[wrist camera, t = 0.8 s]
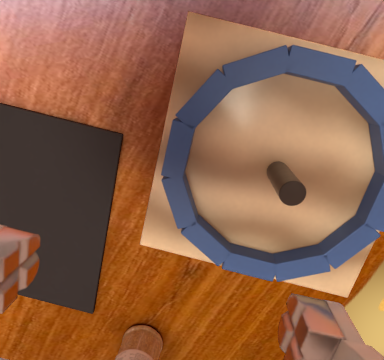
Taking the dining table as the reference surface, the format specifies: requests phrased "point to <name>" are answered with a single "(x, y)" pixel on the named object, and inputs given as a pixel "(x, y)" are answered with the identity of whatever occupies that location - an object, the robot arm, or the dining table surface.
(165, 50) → the dining table surface
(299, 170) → the platform
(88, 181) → the mat
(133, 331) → the spice jar
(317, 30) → the dining table surface
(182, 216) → the ring
